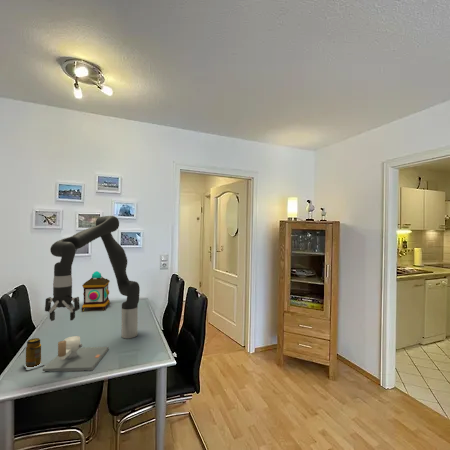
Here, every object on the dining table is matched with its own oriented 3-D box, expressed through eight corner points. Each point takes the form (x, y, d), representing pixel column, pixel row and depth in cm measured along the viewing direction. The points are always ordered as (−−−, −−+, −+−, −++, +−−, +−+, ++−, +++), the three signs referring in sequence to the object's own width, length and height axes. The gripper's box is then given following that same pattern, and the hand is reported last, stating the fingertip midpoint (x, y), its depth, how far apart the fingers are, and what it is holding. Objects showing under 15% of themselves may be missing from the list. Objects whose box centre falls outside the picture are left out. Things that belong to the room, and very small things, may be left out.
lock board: (66, 350, 149) (66, 340, 149) (108, 349, 151) (108, 340, 151) (42, 372, 127) (42, 360, 127) (92, 370, 129) (92, 359, 129)
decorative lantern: (86, 305, 235) (87, 269, 235) (111, 304, 239) (112, 269, 239) (79, 312, 215) (79, 273, 216) (106, 311, 219) (106, 272, 219)
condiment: (39, 360, 139) (40, 336, 139) (44, 366, 133) (45, 340, 133) (22, 365, 133) (22, 340, 134) (26, 371, 128) (26, 345, 128)
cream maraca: (66, 347, 142) (66, 331, 142) (84, 346, 143) (84, 331, 143) (49, 361, 127) (50, 343, 127) (70, 360, 128) (70, 343, 128)
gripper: (82, 283, 134) (81, 317, 133) (51, 283, 133) (50, 317, 132) (75, 286, 126) (74, 322, 126) (41, 286, 125) (41, 323, 125)
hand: (62, 320), depth 129 cm, fingers open, 8 cm apart
